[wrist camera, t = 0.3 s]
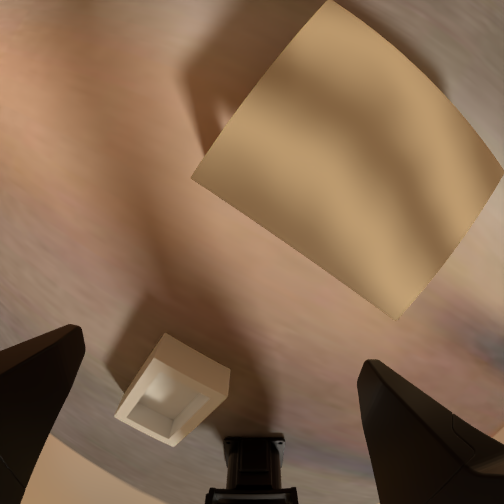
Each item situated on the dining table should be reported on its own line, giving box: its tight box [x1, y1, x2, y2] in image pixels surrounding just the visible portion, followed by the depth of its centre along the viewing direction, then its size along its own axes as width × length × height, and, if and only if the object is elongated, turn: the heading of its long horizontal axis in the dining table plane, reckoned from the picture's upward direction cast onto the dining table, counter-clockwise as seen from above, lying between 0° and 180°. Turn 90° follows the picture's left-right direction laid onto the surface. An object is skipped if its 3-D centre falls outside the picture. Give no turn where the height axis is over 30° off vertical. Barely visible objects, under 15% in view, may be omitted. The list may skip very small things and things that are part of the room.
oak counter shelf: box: [191, 0, 504, 321], centre depth 17 cm, size 12×14×6 cm
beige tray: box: [114, 333, 231, 447], centre depth 25 cm, size 10×6×4 cm, turn 145°
